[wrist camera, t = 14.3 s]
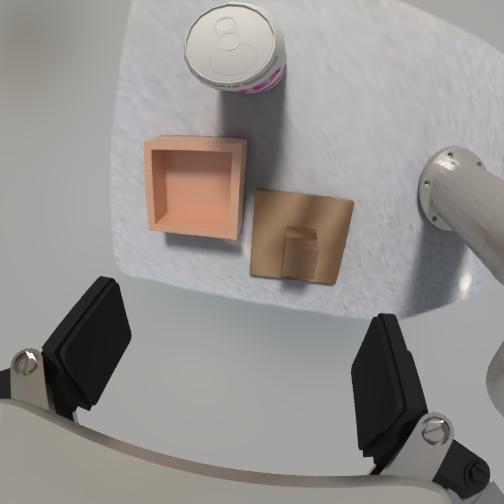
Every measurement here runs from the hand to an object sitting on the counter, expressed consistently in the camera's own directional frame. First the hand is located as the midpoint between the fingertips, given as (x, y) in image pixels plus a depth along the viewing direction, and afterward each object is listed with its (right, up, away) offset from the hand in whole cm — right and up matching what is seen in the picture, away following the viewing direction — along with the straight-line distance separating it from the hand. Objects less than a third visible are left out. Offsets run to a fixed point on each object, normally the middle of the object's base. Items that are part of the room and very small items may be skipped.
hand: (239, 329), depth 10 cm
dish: (-6, +13, +29) cm, 32 cm away
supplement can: (+1, +26, +21) cm, 33 cm away
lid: (+7, +5, +31) cm, 32 cm away
